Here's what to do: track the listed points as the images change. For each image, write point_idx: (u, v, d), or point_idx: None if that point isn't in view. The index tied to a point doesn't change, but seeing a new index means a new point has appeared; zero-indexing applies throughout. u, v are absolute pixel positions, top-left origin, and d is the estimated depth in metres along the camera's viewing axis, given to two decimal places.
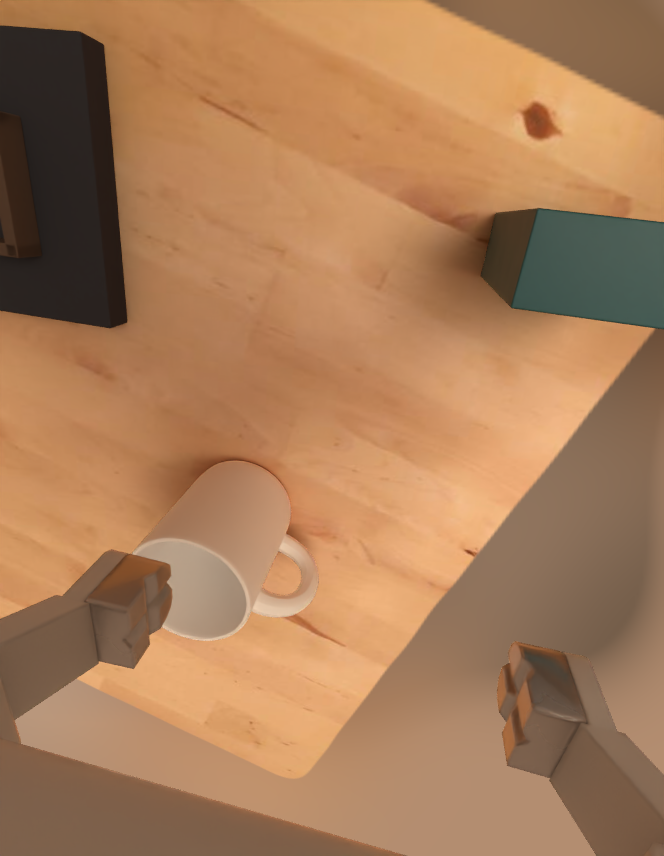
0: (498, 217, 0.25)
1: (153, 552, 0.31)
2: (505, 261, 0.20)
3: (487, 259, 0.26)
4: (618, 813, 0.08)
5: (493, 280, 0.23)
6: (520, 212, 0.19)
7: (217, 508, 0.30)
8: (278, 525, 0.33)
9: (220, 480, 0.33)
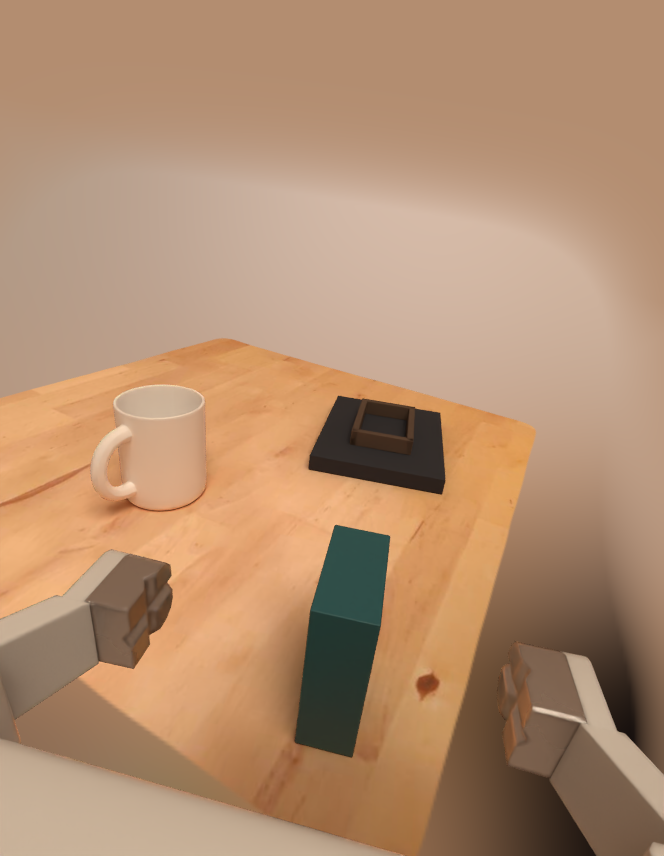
0: None
1: (179, 410, 0.49)
2: None
3: None
4: (618, 813, 0.08)
5: None
6: None
7: (198, 441, 0.45)
8: (156, 480, 0.43)
9: (204, 464, 0.47)
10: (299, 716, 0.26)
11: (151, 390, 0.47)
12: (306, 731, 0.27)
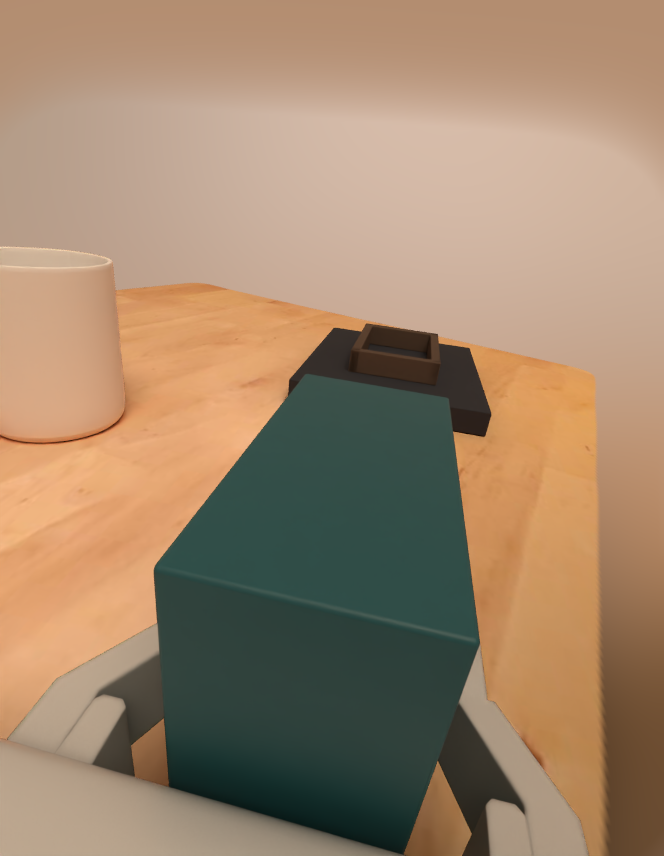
0: None
1: None
2: None
3: None
4: (478, 776, 0.08)
5: None
6: None
7: (99, 328, 0.27)
8: (22, 386, 0.26)
9: (115, 373, 0.29)
10: None
11: (33, 256, 0.30)
12: None
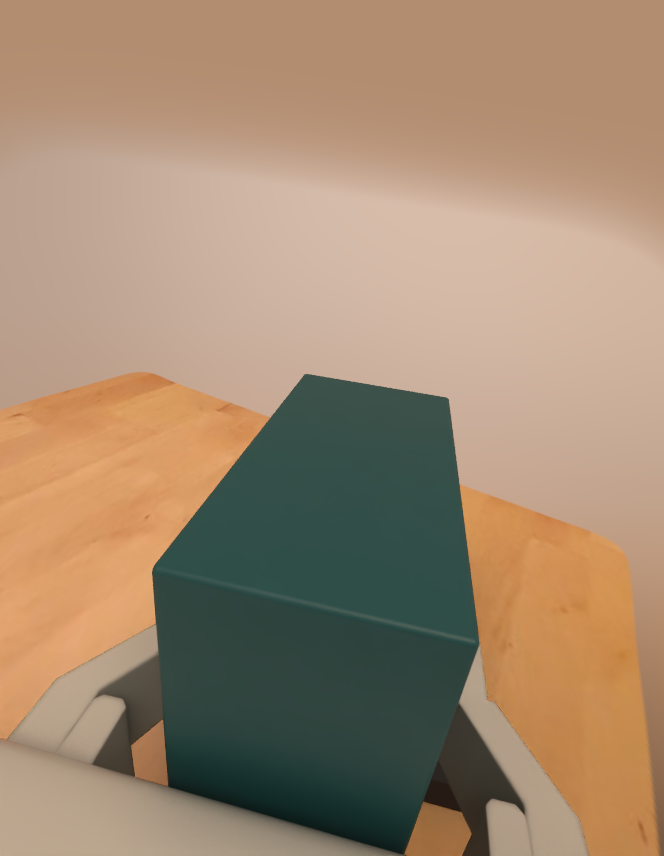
0: None
1: None
2: None
3: None
4: (479, 776, 0.08)
5: None
6: None
7: None
8: None
9: None
10: None
11: None
12: None
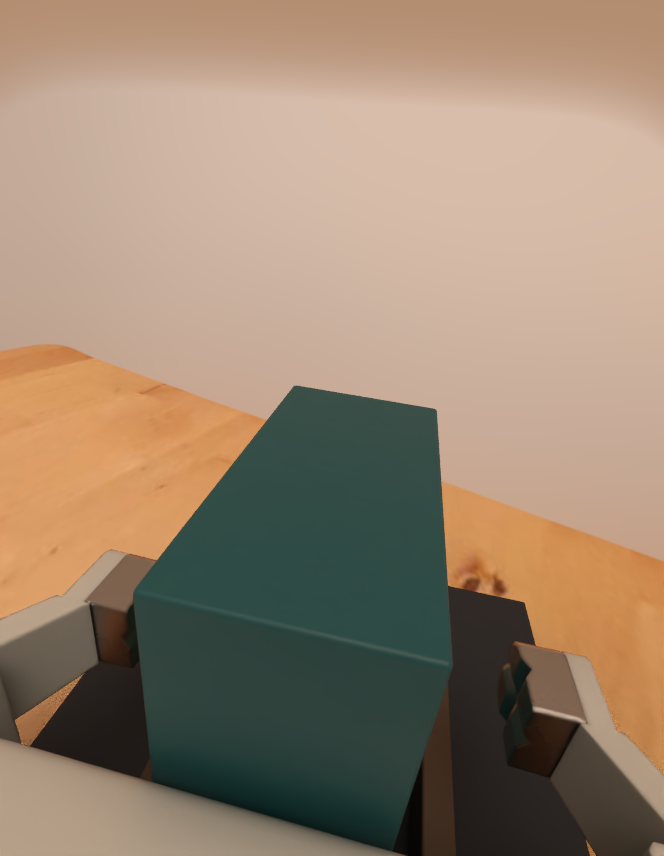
0: None
1: None
2: None
3: None
4: (618, 813, 0.08)
5: None
6: None
7: None
8: None
9: None
10: None
11: None
12: None
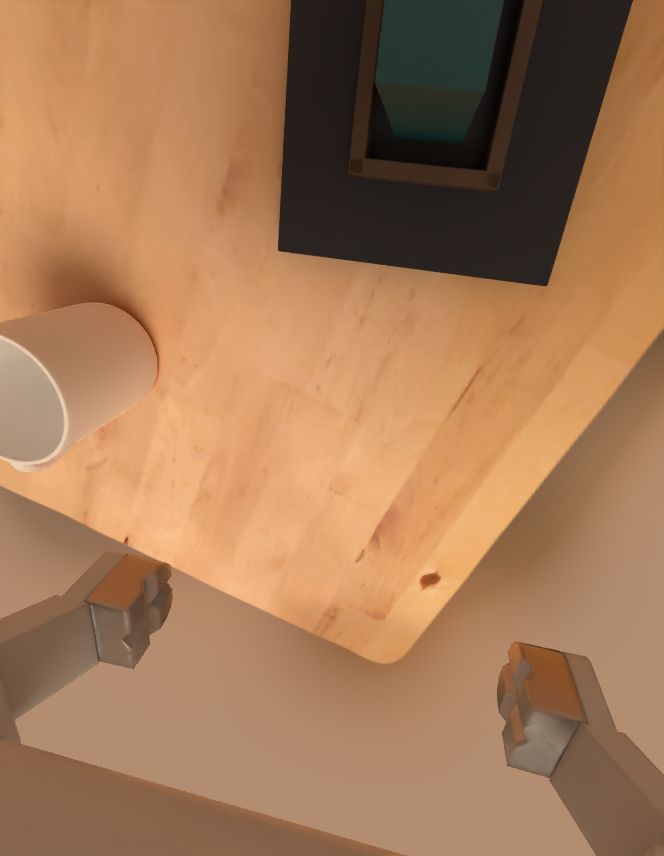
0: None
1: None
2: None
3: None
4: (618, 813, 0.08)
5: None
6: None
7: (106, 401, 0.29)
8: None
9: (133, 369, 0.31)
10: (393, 129, 0.22)
11: None
12: (405, 135, 0.23)
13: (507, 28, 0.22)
